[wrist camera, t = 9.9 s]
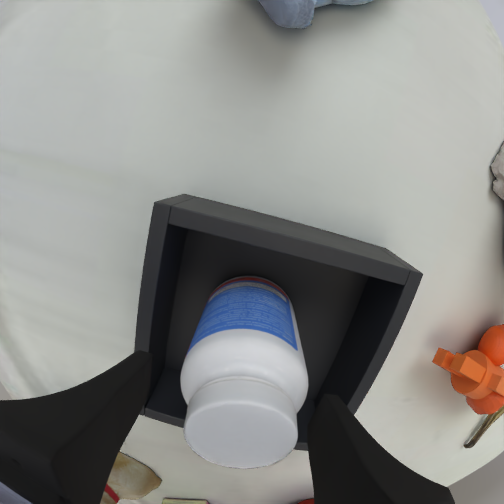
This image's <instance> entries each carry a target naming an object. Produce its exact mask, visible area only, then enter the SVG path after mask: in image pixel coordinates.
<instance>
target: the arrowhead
mask: <svg viewBox="0 0 504 504" xmlns="http://www.w3.org/2000/svg"><path fill="white" fill-rule="evenodd" d="M491 170H492V172H493V174H494V176H495V177H496V178H497V179H496V180H495V181H493V191H494V192H495V193H496V194H497V195H499V197H500V198H501V199H502V200H503V201H504V142H503V145H502V147H501V149H500V152H499V153H498V155H496V157H495V159H494V162H493V163H492V165H491Z"/></svg>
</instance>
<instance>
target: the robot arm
mask: <svg viewBox="0 0 504 504" xmlns="http://www.w3.org/2000/svg"><path fill="white" fill-rule="evenodd" d="M152 360H153V354H151V353H148V352H145V351H142V350H138V351H136V352H134V353H133V354H131V355H130V356H129V357H127V358H126V359H124V360H123V361H121V362H120V363H118V364H117V365H115V366H113V367H112V368H110V369H109V370H107V371H105V372H104V373H102V374H100V375H98V376H96V377H94V378H92V379H91V380H89V381H87V382H84V383H82V384H80V385H78V386H75V387H73V388H70V389H67V390H64V391H61V392H57V393H54V394H50V395H46V396H42V397H36V398H30V399H22V400H3V401H2V400H1V401H0V504H100V502H101V499H102V496H103V493H104V490H105V487H106V484H107V481H108V478H109V476H110V473H111V470H112V467H113V465H114V462H115V460H116V457H117V455H118V452H119V450H120V448H121V446H122V444H123V442H124V441H125V439H126V437H127V435H128V433H129V432H130V430H131V428H132V426H133V424H134V423H135V421H136V419H137V417H138V415H139V414H140V412H141V410H142V408H143V405H144V403H145V400H146V398H147V395H148V393H149V390H150V380H151V369H152ZM307 446H308V453H309V460H310V466H311V473H312V480H313V487H314V504H455V502H454V499H453V497H452V495H451V493H450V490H449V488H447V487H445V486H442V485H440V484H438V483H435V482H433V481H431V480H429V479H427V478H425V477H423V476H421V475H419V474H417V473H416V472H414V471H412V470H411V469H409V468H408V467H406V466H405V465H404V464H402V463H401V462H399V461H398V460H397V459H395V458H394V457H393V456H392V455H391V454H389V453H388V452H387V451H386V450H385V449H384V448H383V447H382V446H381V445H379V444H378V443H377V441H376V440H375V439H374V438H373V437H372V436H371V435H370V434H369V433H368V432H367V431H366V430H365V428H364V427H363V426H362V425H361V424H360V422H359V421H358V420H357V419H356V418H355V416H354V415H353V414H352V413H351V411H350V410H349V409H348V407H347V406H346V405H345V404H344V402H343V401H342V400H341V399H340V398H339V396H338V395H332V394H325V393H324V395H323V397H322V399H321V401H320V403H319V405H318V407H317V408H316V410H315V412H314V414H313V416H312V418H311V419H310V421H309V423H308V425H307Z"/></svg>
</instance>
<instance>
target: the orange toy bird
mask: <svg viewBox="0 0 504 504" xmlns="http://www.w3.org/2000/svg"><path fill="white" fill-rule="evenodd" d="M432 362H433V363H435V364H436V365H438V366H440V367H442V368H444V369H445V370H447V371H449V372H450V373H451V383H452V386H453V388H454V389H455V390H456V391H457V392H459V393H461V394H463V395H465V396H466V400H467V403H468V405H469V406H470V407H471V408H472V409H473V410H474V411H475V412H476V413H477V414H492V413H495V412H497V411H498V410H499V409H500V408H501V407H502V406H503V405H504V369H502V368H501V367H500V365H502V364H504V324H502V325H497V326H492V327H490V328H489V329H488V330H487V331H486V332H485V333H484V335H483V337H482V338H481V340H480V342H479V346H478V350H471V351H468V352H466V353H464V354H460V353H457V352H456V355H454V354H452V353H451V352H449V351H447V350H444V349H441V348H438V351H437V353H436V355H435V357H434V359H433V361H432Z"/></svg>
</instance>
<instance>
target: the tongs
mask: <svg viewBox="0 0 504 504" xmlns="http://www.w3.org/2000/svg"><path fill="white" fill-rule="evenodd" d="M503 413H504V405H503V406H502V407H501V408H500V409H499V410H498V411H497V412H495V413H492V414H489V415H488V416H487V418H486V420H485V421H484V423H483V424H482V426H481V427H480V429H479V430H478V432H477V433H476V434H475V436H474V437H473V438H472V439H471V441H470V442H469V443H468V444H466V445H464V447H465V448H471V447H473V446H474V445H475V444H476V443H477V441H478V440H479V439H480V437H481V436H482V435H483V434H484V433H485V431H486V430H487V429H488V428H489V427H490V426H491V424H492V423H493V422H495V421H496V420H497V419H498V418H499V417H500V416H501V415H502V414H503Z"/></svg>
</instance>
